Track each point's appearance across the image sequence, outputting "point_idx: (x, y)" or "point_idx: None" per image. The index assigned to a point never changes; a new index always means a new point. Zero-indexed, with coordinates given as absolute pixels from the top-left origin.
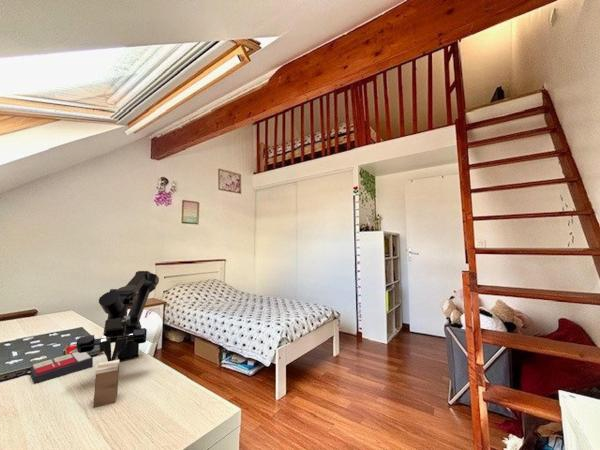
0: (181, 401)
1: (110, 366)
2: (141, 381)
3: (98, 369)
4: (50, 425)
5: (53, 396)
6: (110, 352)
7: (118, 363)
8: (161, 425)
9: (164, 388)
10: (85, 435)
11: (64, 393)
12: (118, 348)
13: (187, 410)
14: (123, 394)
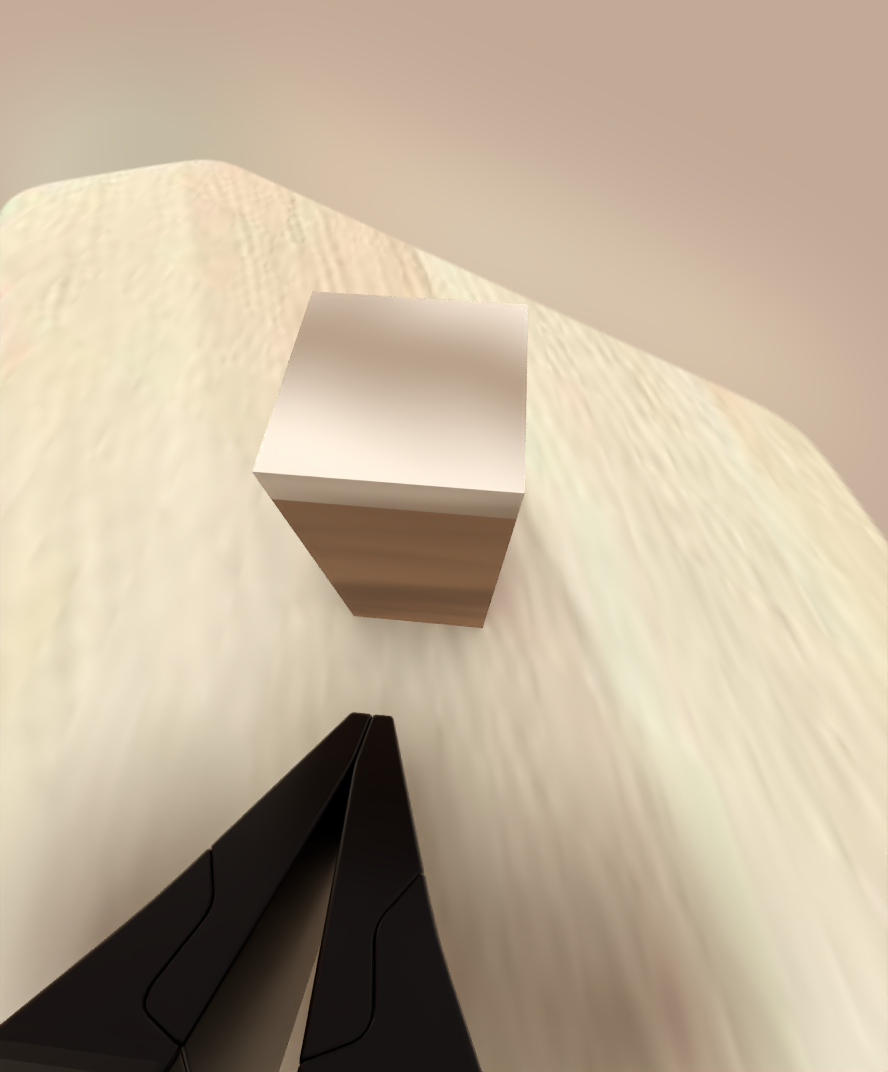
0: (101, 334)
1: (383, 324)
2: (157, 723)
3: (505, 316)
4: (664, 465)
5: (842, 922)
6: (337, 900)
7: (291, 356)
8: (242, 245)
9: (89, 500)
10: None
11: (763, 929)
12: (100, 960)
13: (123, 271)
14: (319, 577)
